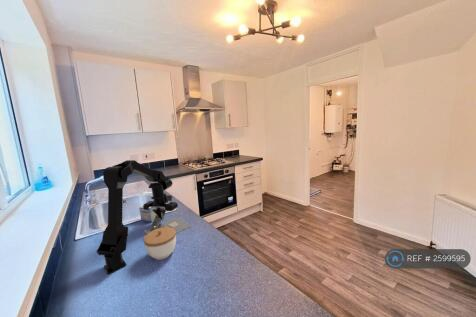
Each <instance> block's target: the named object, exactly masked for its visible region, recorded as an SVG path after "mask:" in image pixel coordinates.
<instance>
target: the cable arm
mask: <svg viewBox="0 0 476 317" xmlns="http://www.w3.org/2000/svg"><path fill="white" fill-rule="evenodd" d="M161 223H162V220H161V219H160V218H159V217H158V215H157V214H156V215H155V219H154V221H153V222H151V225H150V226H149V228H150V231H153V230H155V229H158V227H159V224H161Z"/></svg>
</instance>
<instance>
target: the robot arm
mask: <svg viewBox="0 0 476 317" xmlns="http://www.w3.org/2000/svg"><path fill="white" fill-rule="evenodd" d="M133 173H135V174H138V175H141V176H143V177H144V178H145V180H147V181H148V182H149V183H150V184H149V185H148V189H151V194H152V196H151V200H149V201H147V202H145V203H143V205H142V206H143V208H144V209H145V210H148V209H149V207H153V210H152V211H154V212H155V213H156V214H157V215H158V217H159V218H160V219H161V222H162V221H164V220H165V214H166V212H173V211H174V210H175V209H177V208H178V207H179V206H178V202H176V201H173V195H168V194H167V193H165V191H166V190H168V189H169V188H171V187H172V186H173V181H172V180H171V178H169V176H166V175H165V174H164V172H163V170H162V171H161V170H158V169H152V168H149V167H148V166H145V165H143V164H141V163H140V162H138V161H137V160H134V159H132V160H131V159H127V160H125V161H122V162H121V163H118V164H115V165H112V166H108V167H106V168H105V169H104V170H103V172H102V177H103V183H104V184H105V186H106V187H107V193H108V194H107V196H108V198H107V226H106V227H105V229H104V231H103V234H102V239H101V242H100V244H99V246H98V248H97V250H96V254H97V255H99V256H103V258H104V262H105V264H104V266H103V268H104V269H105V272H106V274H107V275H111V274H112V273H114V272H116V271H118V270H120V269H122V268H124V267H126V266H127V262H126V261H125V260H124V258H123V253H124V252H125V251H126V250H127V242H128V237H129V235H130V234H129V226H126V225H124V224H123V208H124V207H123V203H124V202H123V195H124V194H123V193H124V192H123V190H124V189H123V188H124V187H125V185H126V184H127V182H128V177H129V176H130V175H131V174H133Z"/></svg>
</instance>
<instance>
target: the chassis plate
mask: <svg viewBox="0 0 476 317" xmlns="http://www.w3.org/2000/svg"><path fill="white" fill-rule="evenodd" d="M191 226H192V225H191V224H190V223H188V222H186V221H185V220H183V219H181V218H179V217H177V216H175V217H174V218H171V219H169V220H166V221H164V222H160V224H159V227H158V228H163V227H170V228H173V229H175V231H176V234H178V233H181V232H182V231H185V230H186V229H188V228H190V227H191ZM149 232H151V231H150V227H149V228H148V229H144V230H143V233H144V234H145V236H146V235H147V234H148V233H149Z"/></svg>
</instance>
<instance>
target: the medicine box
mask: <svg viewBox="0 0 476 317" xmlns="http://www.w3.org/2000/svg"><path fill="white" fill-rule="evenodd" d="M138 209H139V215H140V221H141V222H145V221H146V222H148V223H153V221H154V219H155V215H156V213H155V212H154V211H152V210H153V207H149V209H148V210H145V209H144V208H143V205H141V206H140V207H139V208H138Z"/></svg>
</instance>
